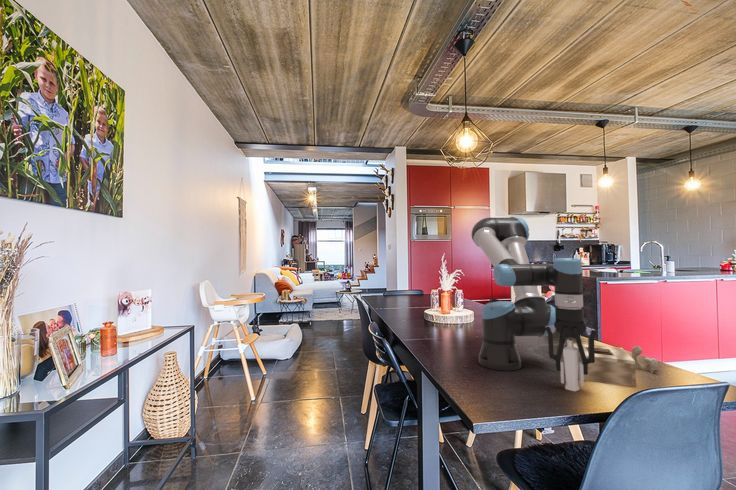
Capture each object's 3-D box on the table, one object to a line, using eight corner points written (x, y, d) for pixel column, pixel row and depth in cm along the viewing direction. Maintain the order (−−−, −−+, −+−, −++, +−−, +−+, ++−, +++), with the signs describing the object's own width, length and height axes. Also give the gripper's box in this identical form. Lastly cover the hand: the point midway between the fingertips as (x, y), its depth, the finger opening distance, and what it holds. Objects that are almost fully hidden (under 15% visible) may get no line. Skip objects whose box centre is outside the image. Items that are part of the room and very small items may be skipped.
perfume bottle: (559, 386, 101) (557, 338, 101) (572, 385, 101) (570, 337, 102) (569, 392, 96) (567, 341, 97) (583, 391, 97) (581, 341, 97)
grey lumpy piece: (672, 369, 110) (657, 344, 110) (661, 380, 109) (645, 355, 109) (646, 363, 118) (632, 340, 118) (635, 373, 117) (621, 350, 117)
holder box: (575, 378, 107) (574, 354, 107) (570, 364, 121) (569, 342, 121) (636, 386, 99) (635, 360, 100) (623, 370, 114) (622, 347, 114)
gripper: (537, 307, 100) (540, 383, 99) (605, 311, 92) (609, 393, 91) (537, 304, 107) (539, 374, 106) (600, 307, 99) (604, 383, 98)
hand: (572, 383), depth 99 cm, fingers closed on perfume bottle, 4 cm apart
